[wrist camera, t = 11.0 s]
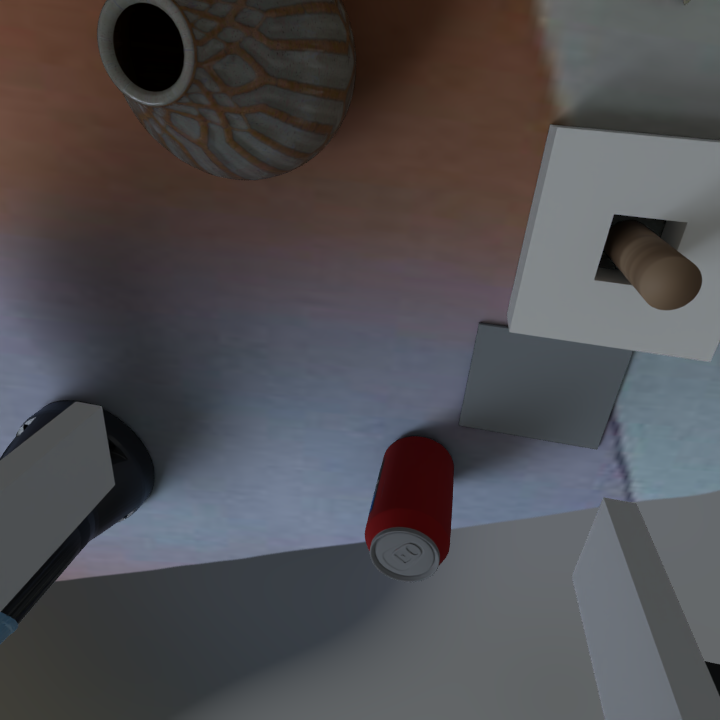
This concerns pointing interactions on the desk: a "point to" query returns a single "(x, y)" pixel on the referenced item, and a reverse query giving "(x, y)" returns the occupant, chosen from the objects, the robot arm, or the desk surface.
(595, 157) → the hole block
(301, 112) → the vase
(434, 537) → the beverage can
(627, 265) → the peg
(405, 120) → the desk surface
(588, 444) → the mat
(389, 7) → the desk surface
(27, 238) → the desk surface
